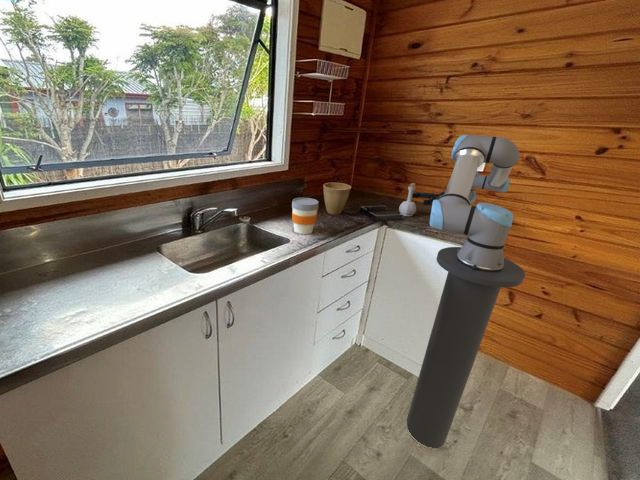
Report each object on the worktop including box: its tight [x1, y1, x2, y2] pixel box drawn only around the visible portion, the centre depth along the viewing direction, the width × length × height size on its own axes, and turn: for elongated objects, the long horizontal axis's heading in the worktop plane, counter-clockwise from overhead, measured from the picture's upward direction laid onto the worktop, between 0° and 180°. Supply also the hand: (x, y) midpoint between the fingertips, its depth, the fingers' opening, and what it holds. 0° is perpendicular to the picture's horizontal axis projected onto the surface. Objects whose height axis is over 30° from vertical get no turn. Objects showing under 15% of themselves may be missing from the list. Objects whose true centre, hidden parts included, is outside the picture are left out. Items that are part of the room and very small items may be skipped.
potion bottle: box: [398, 182, 417, 217], centre depth 170 cm, size 9×9×18 cm
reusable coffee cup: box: [291, 197, 320, 235], centre depth 145 cm, size 12×13×15 cm
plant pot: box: [322, 182, 352, 216], centre depth 170 cm, size 15×15×16 cm
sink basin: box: [359, 205, 403, 222], centre depth 169 cm, size 16×16×5 cm
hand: (415, 199), depth 171 cm, fingers open, 13 cm apart
